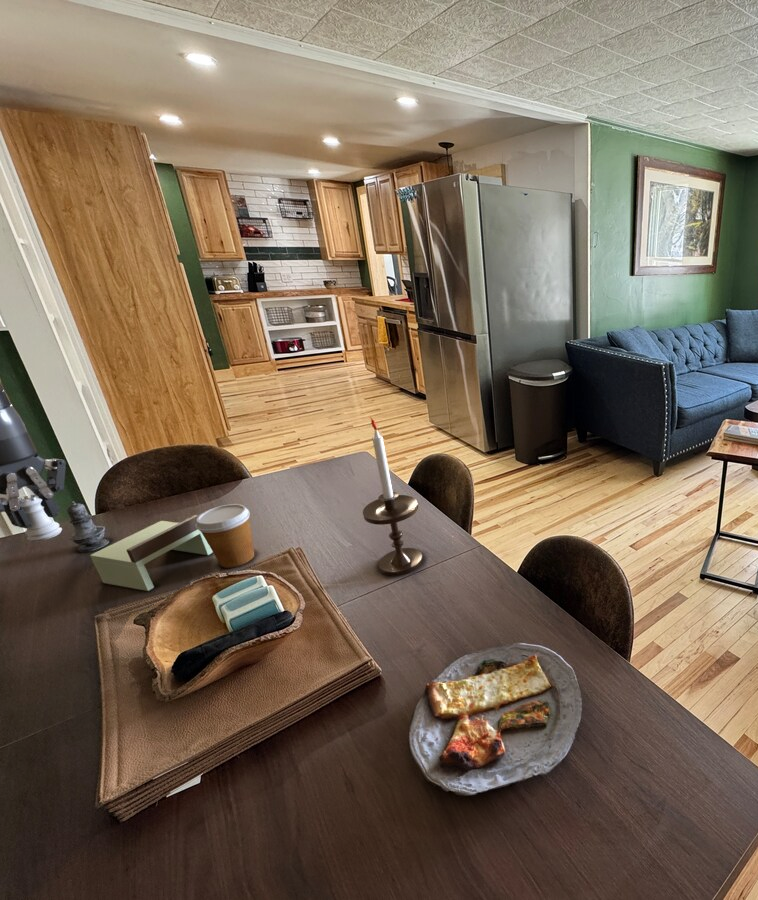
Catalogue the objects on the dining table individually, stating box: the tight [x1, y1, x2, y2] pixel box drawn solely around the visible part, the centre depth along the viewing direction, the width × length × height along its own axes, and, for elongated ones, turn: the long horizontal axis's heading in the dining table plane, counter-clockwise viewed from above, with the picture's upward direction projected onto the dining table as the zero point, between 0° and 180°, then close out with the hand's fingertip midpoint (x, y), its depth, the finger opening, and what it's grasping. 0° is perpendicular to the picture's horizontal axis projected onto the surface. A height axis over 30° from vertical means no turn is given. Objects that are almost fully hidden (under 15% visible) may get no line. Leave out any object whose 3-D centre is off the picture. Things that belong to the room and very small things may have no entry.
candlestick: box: [362, 416, 423, 577], centre depth 100 cm, size 11×11×35 cm
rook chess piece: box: [18, 494, 63, 542], centre depth 87 cm, size 4×4×8 cm
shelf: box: [89, 514, 214, 592], centre depth 103 cm, size 12×14×10 cm
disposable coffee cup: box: [196, 503, 255, 568], centre depth 105 cm, size 10×10×12 cm
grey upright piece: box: [66, 500, 110, 553], centre depth 110 cm, size 6×6×12 cm
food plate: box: [407, 641, 583, 797], centre depth 71 cm, size 25×23×4 cm
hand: (38, 521), depth 87 cm, fingers closed on rook chess piece, 3 cm apart
